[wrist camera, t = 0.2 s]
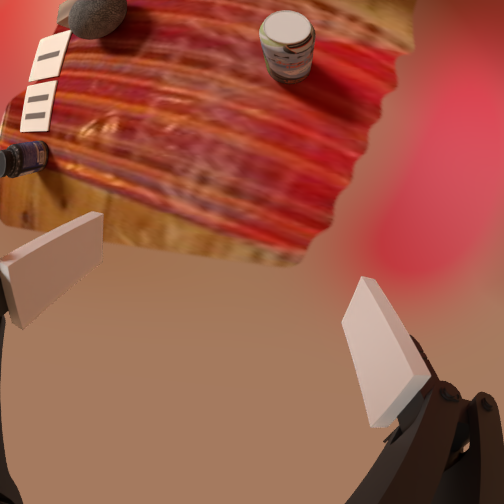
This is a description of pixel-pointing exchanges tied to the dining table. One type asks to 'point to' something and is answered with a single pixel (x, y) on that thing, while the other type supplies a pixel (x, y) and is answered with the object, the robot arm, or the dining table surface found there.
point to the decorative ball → (96, 17)
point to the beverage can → (287, 46)
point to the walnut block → (64, 12)
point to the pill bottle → (23, 159)
